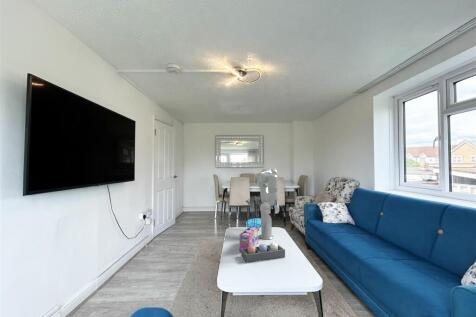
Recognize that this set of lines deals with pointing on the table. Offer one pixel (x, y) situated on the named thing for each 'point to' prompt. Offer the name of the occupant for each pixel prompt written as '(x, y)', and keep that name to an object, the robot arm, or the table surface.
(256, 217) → the geometric lantern
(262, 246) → the pale blue rounded piece
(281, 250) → the gray compartment tray
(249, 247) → the peach rounded egg shape
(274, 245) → the white rounded piece
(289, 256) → the table surface
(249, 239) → the gum box
